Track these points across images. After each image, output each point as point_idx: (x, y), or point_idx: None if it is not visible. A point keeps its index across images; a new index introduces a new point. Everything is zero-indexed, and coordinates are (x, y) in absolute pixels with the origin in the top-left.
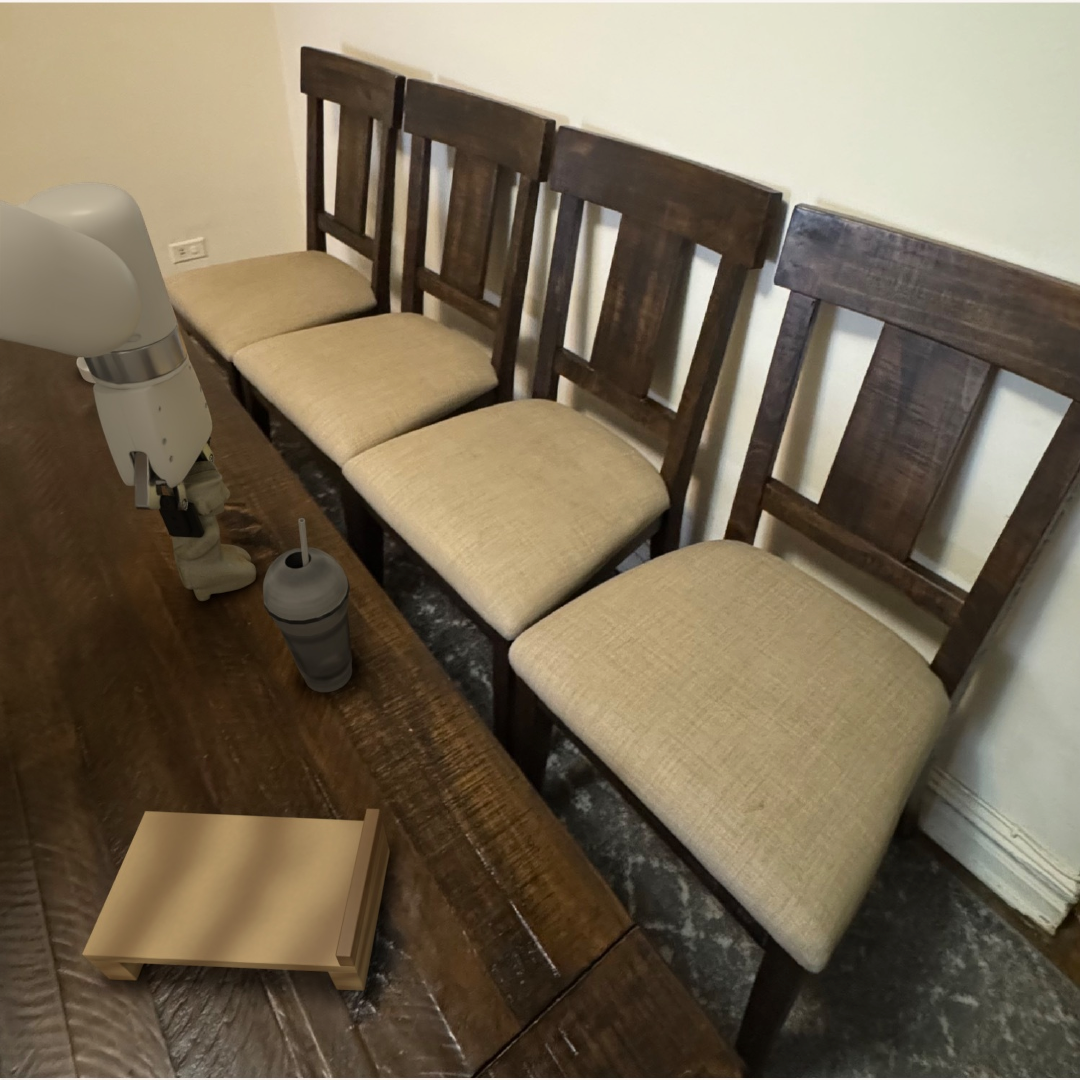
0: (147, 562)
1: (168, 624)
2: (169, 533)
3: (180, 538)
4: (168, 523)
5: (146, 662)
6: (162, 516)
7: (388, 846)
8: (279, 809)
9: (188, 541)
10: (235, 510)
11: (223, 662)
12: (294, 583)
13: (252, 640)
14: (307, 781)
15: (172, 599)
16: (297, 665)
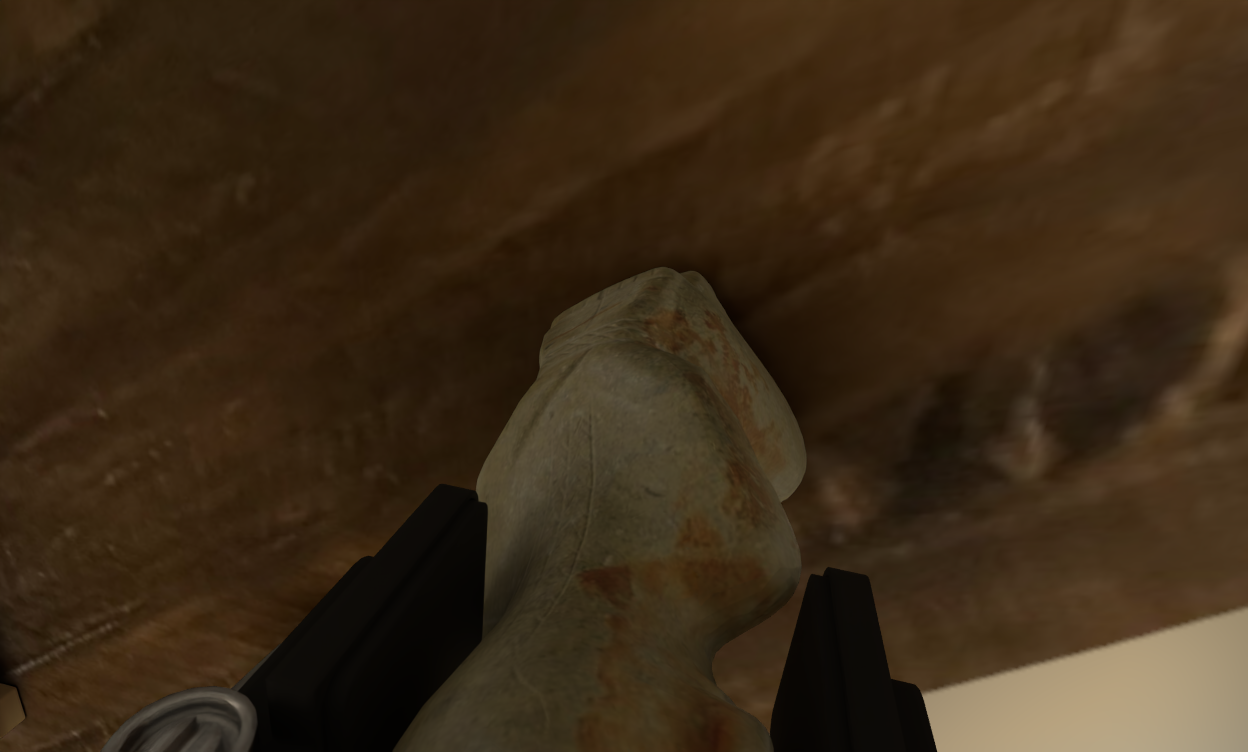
0: (879, 15)
1: (503, 216)
2: (434, 491)
3: (551, 454)
4: (313, 613)
5: (341, 183)
6: (347, 591)
7: (5, 734)
8: (38, 563)
9: (502, 513)
10: (1197, 362)
11: (362, 418)
12: None
13: None
14: (101, 609)
15: (627, 200)
16: (244, 678)
